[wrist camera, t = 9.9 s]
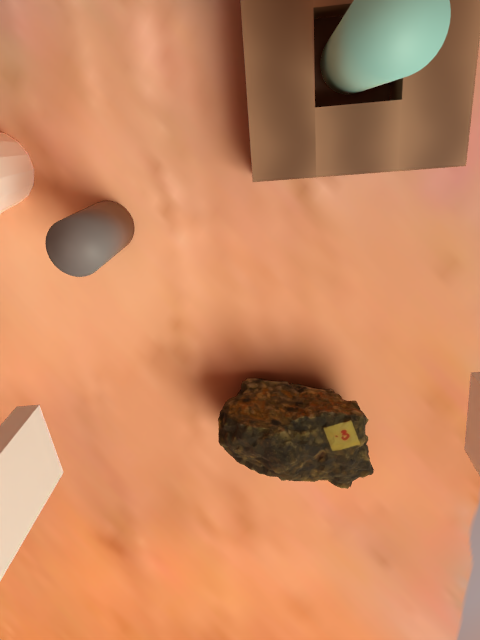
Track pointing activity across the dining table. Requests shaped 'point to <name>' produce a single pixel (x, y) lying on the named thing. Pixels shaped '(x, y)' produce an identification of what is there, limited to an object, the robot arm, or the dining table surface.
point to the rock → (295, 433)
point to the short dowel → (89, 238)
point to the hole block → (353, 119)
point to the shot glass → (14, 172)
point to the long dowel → (383, 42)
